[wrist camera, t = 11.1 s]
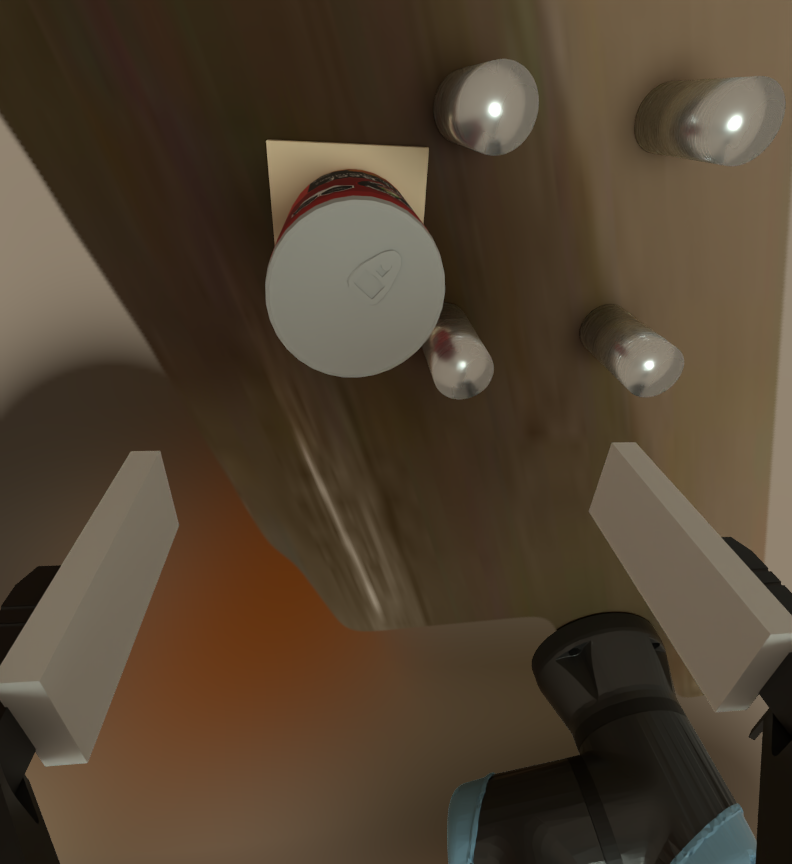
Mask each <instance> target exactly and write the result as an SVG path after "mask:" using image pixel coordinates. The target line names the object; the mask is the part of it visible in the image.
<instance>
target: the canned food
mask: <svg viewBox="0 0 792 864" xmlns="http://www.w3.org/2000/svg"><path fill="white" fill-rule="evenodd" d="M265 290H266V306H267V310H268V314H269V318H270V321H271V324H272V326H273V328H274V330H275V332H276V334H277V336H278V337H279V339H280V340H281V342H282V343H283V344H284V346H285V347H286V348H287V349H288V350H289V351H290V352H291V353H292V354H293V355H294V356H295V357H296V358H297V359H298V360H300V361H301V362H303V363H305V364H306V365H308V366H309V367H311V368H313V369H315V370H318V371H320V372H323V373H325V374H329V375H334V376H339V377H365V376H371V375H376V374H379V373H381V372H384V371H387V370H390V369H392V368H394V367H395V366H397V365H399V364H401V363H403V362H404V361H406V360H407V359H408V358H409V357H410V356H412V355H413V354H414V353H415V352H417V351H418V349H419V348H420V347H421V346H422V345H423V344H424V343H425V341H426V340H427V339H428V338H429V336H430V334H431V333H432V331H433V329H434V327H435V326H436V324H437V321H438V319H439V316H440V313H441V310H442V307H443V301H444V295H445V274H444V269H443V265H442V261H441V257H440V253H439V251H438V248H437V246H436V244H435V242H434V240H433V238H432V236H431V235H430V233H429V231H428V230H427V228H426V227H425V226H424V224H423V223H422V222H421V220H420V219H419V218H418V216H417V215H416V213H415V212H414V211H413V209H412V208H411V207H410V205H409V204H408V203H407V201H406V200H405V199H404V197H403V196H402V195H401V194H400V192H399V191H398V190H397V189H396V188H395V187H394V186H393V185H392V184H391V183H390V182H388V181H387V180H386V179H384V178H382V177H380V176H378V175H377V174H374V173H371V172H368V171H364V170H357V169H345V170H338V171H333V172H331V173H328V174H326V175H323V176H321V177H319V178H318V179H316V180H315V181H313V182H312V183H311V184H309V185H308V186H307V187H306V188H305V189H304V190H303V191H302V192H301V193H300V195H299V196H298V198H297V199H296V201H295V202H294V204H293V205H292V207H291V210H290V212H289V214H288V217H287V219H286V221H285V223H284V226H283V228H282V230H281V232H280V235H279V237H278V239H277V242H276V244H275V247H274V249H273V252H272V254H271V258H270V261H269V263H268V269H267V275H266V281H265Z"/></svg>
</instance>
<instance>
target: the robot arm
mask: <svg viewBox="0 0 792 864" xmlns="http://www.w3.org/2000/svg"><path fill="white" fill-rule="evenodd" d="M589 513H590V514H591V516H592V517H593V519H594V521H595V522H596V524H597V525H598V527H599V528H600V530H601V532H602V533H603V535H604V536H605V538H606V540H607V541H608V543H609V544H610V546H611V548H612V549H613V551H614V552H615V554H616V556H617V557H618V559H619V560H620V562H621V563H622V565H623V567H624V568H625V570H626V571H627V573H628V575H629V576H630V578H631V579H632V581H633V583H634V584H635V586H636V587H637V589H638V590H639V592H640V594H641V595H642V597H643V598H644V600H645V602H646V603H647V605H648V606H649V608H650V610H651V611H652V613H653V614H654V616H655V618H656V619H657V621H658V622H659V624H660V625H661V627H662V629H663V630H664V632H665V633H666V635H667V637H668V638H669V640H670V641H671V643H672V645H673V646H674V648H675V649H676V651H677V653H678V654H679V656H680V657H681V659H682V660H683V662H684V664H685V665H686V667H687V668H688V670H689V672H690V673H691V675H692V676H693V678H694V680H695V681H696V683H697V684H698V686H699V688H700V689H701V691H702V692H703V694H704V695H705V697H706V699H707V700H708V702H709V703H710V705H711V707H712V708H713V710H714V711H715V712H726V711H737V710H747V709H748V708H749V706H750V705H751V704H752V703H753V701H754V700H755V699H756V697H757V696H758V695H759V694H760V696H761V697H762V698H763V700H764V701H765V702H766V704H767V705H768V707H769V709H768V711H767V712H766V713H765V714H764V715H763V716H762V718H761V719H760V720H759V721H758V723H757V724H756V725H755V726H754V728H753V729H752V730H751V733H750V735H749V738H751V739H753V740H755V739H756V738H757V737H758V735H759V734H760V733H761V732H763V737H762V755H761V773H760V775H761V776H760V792H759V809H758V810H759V811H758V828H757V841H756V840H755V837H754V835H753V833H752V831H751V829H750V828H749V826H748V824H747V822H746V820H745V818H744V816H743V810H742V808H741V806H740V805H739V804H738V803H736V801H735V799H734V798H733V796H732V795H731V792H730V791H729V789H728V787H727V786H726V784H725V782H724V780H723V779H722V777H721V775H720V773H719V772H718V770H717V768H716V767H715V765H714V763H713V761H712V759H711V758H710V756H709V754H708V753H707V751H706V749H705V747H704V746H703V744H702V742H701V740H700V739H699V737H698V735H697V734H696V732H695V730H694V729H693V727H692V725H691V723H690V721H689V720H688V718H687V716H686V715H685V713H684V711H683V709H682V708H681V706H680V704H679V702H678V700H677V698H676V694H675V690H674V686H673V681H672V677H671V673H670V668H669V664H668V660H667V655H666V651H665V648H664V645H663V643H662V641H661V639H660V637H659V636H658V634H657V632H656V631H655V629H654V627H653V626H652V625H651V623H649V622H648V621H647V620H645V619H644V618H642V617H639V616H636V615H632V614H626V613H607V614H600V615H595V616H590V617H587V618H584V619H581V620H578V621H575V622H573V623H571V624H568V625H566V626H564V627H563V628H561V629H559V630H557V631H556V632H554V633H553V634H552V635H550V636H549V637H548V638H547V639H546V640H545V641H544V642H543V643H542V644H541V645H540V646H539V647H538V649H537V650H536V652H535V654H534V656H533V659H532V670H533V673H534V675H535V678H536V681H537V684H538V686H539V688H540V690H541V692H542V693H543V695H544V696H545V697H546V699H547V700H548V701H549V703H550V704H551V706H552V707H553V708H554V710H555V711H556V713H557V714H558V715H559V717H560V718H561V719H562V721H563V722H564V723H565V725H566V726H567V728H568V729H569V730H570V732H571V734H572V735H573V738H574V740H575V743H576V746H577V749H578V751H579V754H580V755H577V756H573V757H569V758H565V759H560V760H556V761H552V762H547V763H543V764H538V765H533V766H529V767H524V768H520V769H515V770H511V771H506V772H502V773H497V774H495V773H490V774H488V775H487V776H486V777H484V778H481V779H477V780H474V781H471V782H467V783H464V784H462V785H460V786H459V787H458V788H457V789H456V790H455V791H454V793H453V795H452V797H451V801H450V805H449V811H448V825H447V841H448V862H449V864H792V593H791V592H790V591H789V590H788V589H787V588H786V587H785V586H784V585H781V581H780V580H779V579H778V578H777V577H776V576H775V575H774V574H773V573H772V572H771V571H770V572H769V571H768V568H767V566H766V565H765V564H764V563H763V562H762V561H761V560H760V559H759V558H758V557H757V556H756V555H755V554H754V553H753V552H752V551H751V550H750V549H748V548H747V547H745V546H744V545H742V544H741V543H739V542H738V541H736V540H735V539H733V538H732V537H721V536H720V535H719V534H718V533H717V532H716V531H715V530H714V529H713V528H712V526H711V525H710V524H709V523H708V522H707V521H706V520H705V519H704V518H703V517H702V515H701V514H700V513H699V512H698V511H697V510H696V509H695V508H694V507H693V505H692V504H691V503H690V502H689V501H688V500H687V499H686V498H685V497H684V495H683V494H682V493H681V492H680V491H679V490H678V489H677V488H676V487H675V485H674V484H673V483H672V482H671V481H670V480H669V479H668V478H667V477H666V476H665V474H664V473H663V472H662V471H661V470H660V469H659V468H658V467H657V466H656V464H655V463H654V462H653V461H652V460H651V459H650V458H649V457H648V456H647V454H646V453H645V452H644V451H643V450H642V449H641V448H640V447H639V446H638V444H637V443H636V442H623V443H611V446H610V449H609V452H608V455H607V458H606V461H605V464H604V467H603V470H602V473H601V476H600V479H599V483H598V486H597V489H596V492H595V495H594V498H593V501H592V504H591V507H590V510H589ZM178 526H179V523H178V519H177V515H176V512H175V508H174V504H173V500H172V496H171V492H170V488H169V484H168V480H167V476H166V472H165V468H164V464H163V460H162V456H161V452H160V451H131V452H130V454H129V456H128V457H127V459H126V460H125V462H124V464H123V466H122V467H121V469H120V470H119V472H118V473H117V475H116V477H115V478H114V480H113V482H112V483H111V485H110V487H109V488H108V490H107V492H106V493H105V495H104V497H103V498H102V500H101V501H100V503H99V505H98V506H97V508H96V510H95V511H94V513H93V515H92V516H91V518H90V520H89V521H88V523H87V524H86V526H85V528H84V529H83V531H82V533H81V534H80V536H79V538H78V539H77V541H76V542H75V544H74V546H73V547H72V549H71V551H70V552H69V554H68V556H67V557H66V559H65V561H64V562H63V564H62V565H60V566H38V567H37V568H35V569H34V570H33V571H32V572H31V573H29V574H28V575H27V576H26V577H25V578H23V579H22V580H21V581H20V582H19V583H17V584H16V585H15V587H14V588H13V590H12V591H11V592H10V594H9V595H8V597H7V598H6V600H5V601H4V603H3V604H2V606H1V610H0V864H60V862H59V860H58V857H57V854H56V852H55V849H54V846H53V844H52V841H51V838H50V835H49V833H48V830H47V827H46V825H45V822H44V819H43V817H42V815H41V811H40V809H39V806H38V803H37V801H36V798H35V795H34V793H33V790H32V787H31V784H30V782H29V780H28V779H27V777H26V776H25V772H26V770H27V768H28V766H29V764H30V762H31V759H32V757H33V755H34V753H35V752H36V754H37V755H38V757H39V758H40V759H41V761H42V762H43V764H44V765H45V766H56V765H68V764H81V763H88V760H89V758H90V755H91V753H92V750H93V747H94V745H95V742H96V740H97V737H98V734H99V732H100V729H101V727H102V724H103V721H104V719H105V716H106V714H107V711H108V708H109V706H110V703H111V701H112V698H113V695H114V693H115V690H116V688H117V685H118V682H119V679H120V677H121V675H122V672H123V670H124V667H125V664H126V662H127V659H128V657H129V654H130V651H131V649H132V646H133V644H134V641H135V638H136V636H137V633H138V630H139V628H140V625H141V623H142V620H143V618H144V615H145V612H146V610H147V607H148V604H149V602H150V599H151V597H152V594H153V592H154V588H155V586H156V584H157V581H158V578H159V576H160V573H161V571H162V568H163V566H164V563H165V560H166V558H167V555H168V553H169V550H170V547H171V545H172V542H173V540H174V537H175V534H176V532H177V529H178Z"/></svg>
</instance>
